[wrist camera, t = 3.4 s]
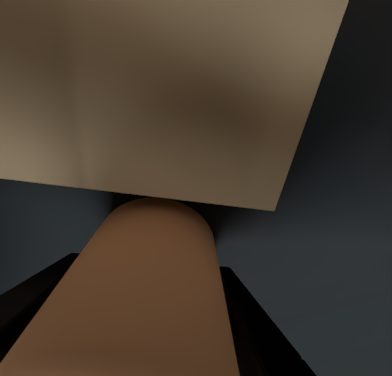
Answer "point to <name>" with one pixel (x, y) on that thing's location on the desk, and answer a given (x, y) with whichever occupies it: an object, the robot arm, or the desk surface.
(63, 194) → the desk surface
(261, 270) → the desk surface
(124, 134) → the pale wood u-shaped block
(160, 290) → the tan rounded cone
